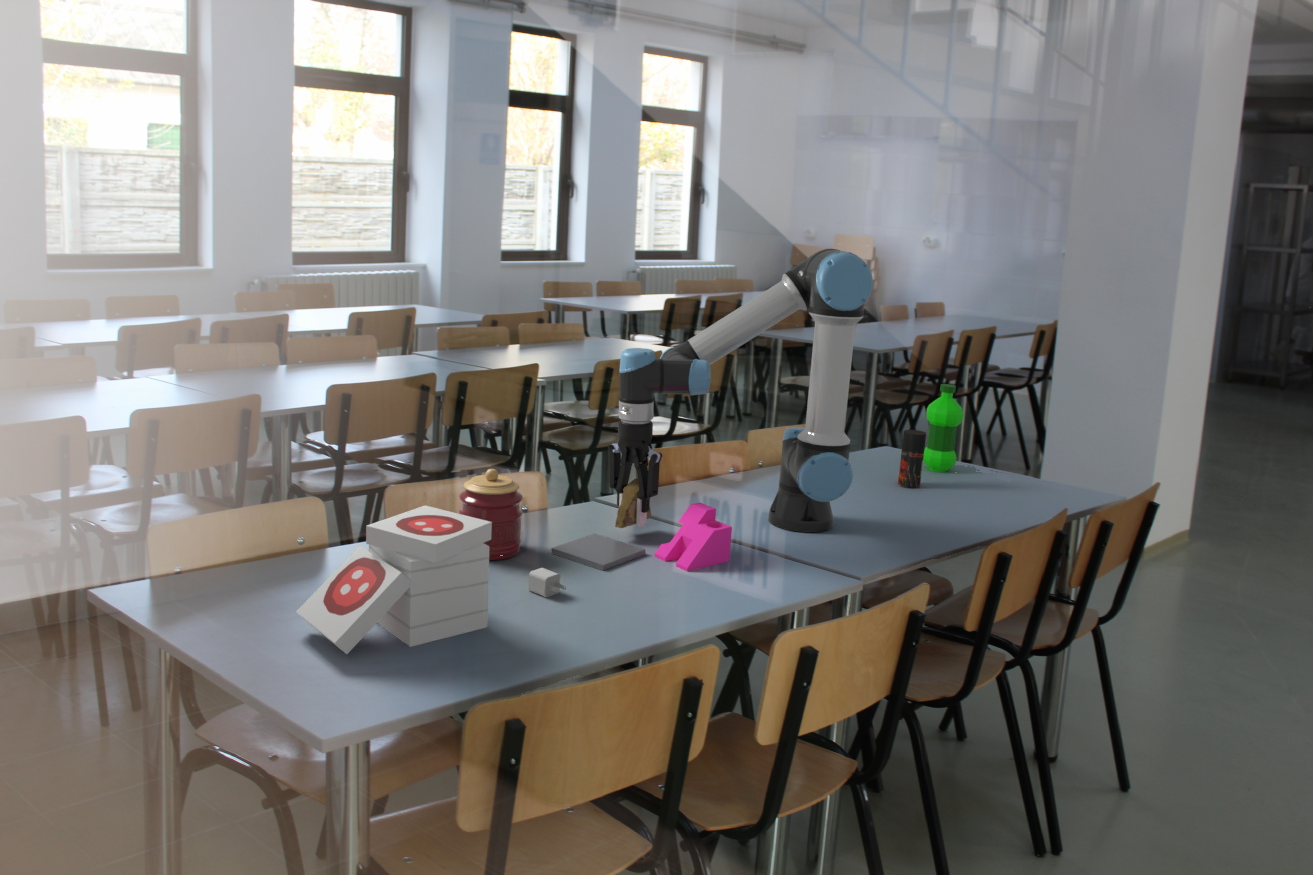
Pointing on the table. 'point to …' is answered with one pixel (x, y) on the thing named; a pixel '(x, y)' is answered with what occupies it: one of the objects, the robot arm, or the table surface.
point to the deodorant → (911, 459)
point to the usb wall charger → (544, 582)
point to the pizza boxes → (408, 581)
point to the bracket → (698, 540)
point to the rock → (629, 506)
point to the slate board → (598, 551)
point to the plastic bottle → (942, 430)
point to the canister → (495, 511)
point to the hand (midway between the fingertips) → (632, 522)
